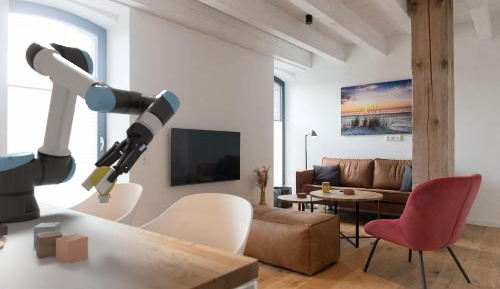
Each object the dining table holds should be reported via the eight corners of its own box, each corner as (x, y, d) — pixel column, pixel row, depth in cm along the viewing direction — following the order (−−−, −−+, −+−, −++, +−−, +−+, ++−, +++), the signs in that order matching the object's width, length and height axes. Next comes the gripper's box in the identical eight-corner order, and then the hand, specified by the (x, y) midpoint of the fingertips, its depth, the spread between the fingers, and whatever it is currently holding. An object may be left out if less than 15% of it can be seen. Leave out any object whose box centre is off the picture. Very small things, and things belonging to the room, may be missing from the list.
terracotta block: (55, 259, 83) (55, 238, 83) (76, 253, 87) (76, 233, 87) (67, 263, 80) (67, 241, 80) (88, 257, 84) (88, 236, 84)
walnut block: (36, 253, 87) (36, 233, 87) (59, 249, 90) (59, 230, 90) (39, 258, 83) (38, 237, 83) (62, 254, 86) (62, 234, 86)
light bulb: (85, 203, 95) (85, 166, 95) (103, 199, 101) (103, 164, 101) (105, 205, 93) (105, 167, 92) (122, 201, 99) (122, 165, 99)
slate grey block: (40, 240, 98) (40, 223, 98) (60, 239, 99) (60, 222, 99) (33, 246, 93) (33, 227, 93) (54, 245, 94) (54, 226, 94)
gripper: (171, 139, 103) (121, 202, 90) (132, 138, 115) (83, 194, 102) (157, 120, 98) (101, 183, 86) (118, 121, 110) (64, 177, 98)
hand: (91, 189), depth 94 cm, fingers closed on light bulb, 7 cm apart
